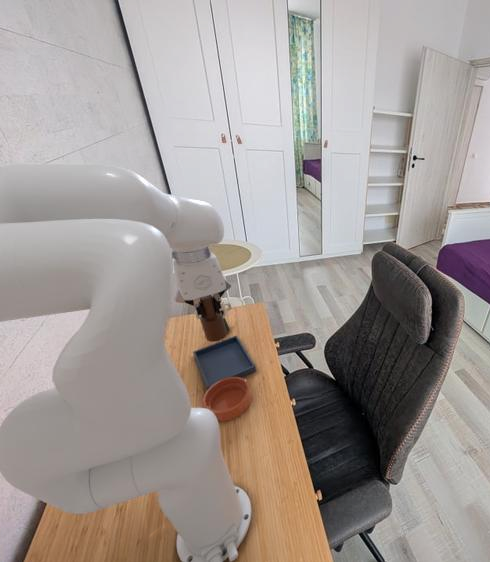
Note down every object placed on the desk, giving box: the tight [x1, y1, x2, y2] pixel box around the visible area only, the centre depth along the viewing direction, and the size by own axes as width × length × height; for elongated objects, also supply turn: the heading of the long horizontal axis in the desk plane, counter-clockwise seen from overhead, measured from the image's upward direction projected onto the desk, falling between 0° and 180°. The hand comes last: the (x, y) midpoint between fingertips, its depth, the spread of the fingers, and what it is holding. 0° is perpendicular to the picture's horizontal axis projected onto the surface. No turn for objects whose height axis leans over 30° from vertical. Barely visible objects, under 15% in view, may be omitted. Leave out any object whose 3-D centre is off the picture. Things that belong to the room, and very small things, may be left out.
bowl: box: [202, 377, 253, 423], centre depth 76 cm, size 11×11×4 cm
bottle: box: [199, 294, 228, 343], centre depth 78 cm, size 5×5×14 cm
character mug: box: [194, 297, 233, 333], centre depth 97 cm, size 11×7×13 cm, turn 126°
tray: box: [192, 335, 257, 391], centre depth 87 cm, size 17×13×3 cm
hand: (210, 313), depth 78 cm, fingers closed on bottle, 3 cm apart
